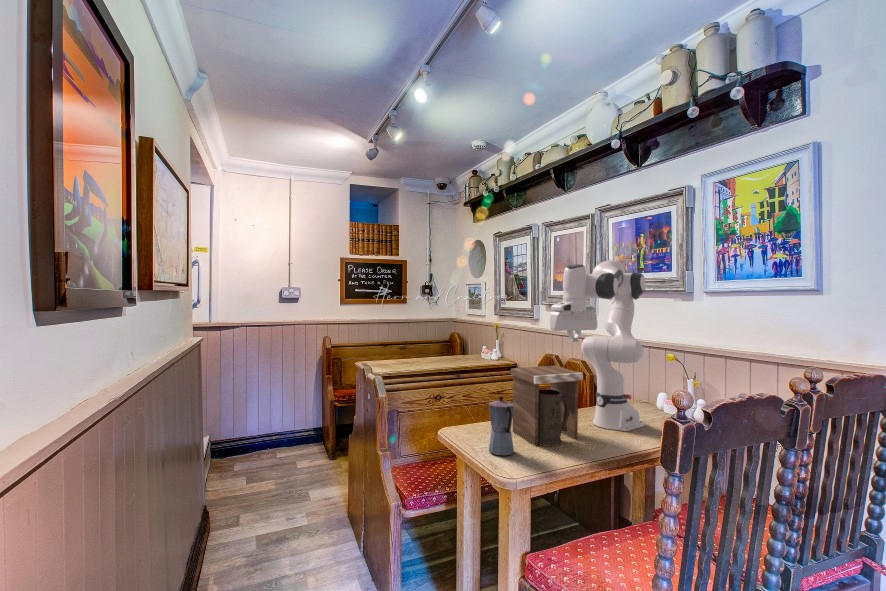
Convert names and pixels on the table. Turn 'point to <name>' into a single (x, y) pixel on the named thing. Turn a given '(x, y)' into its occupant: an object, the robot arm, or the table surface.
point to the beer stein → (551, 416)
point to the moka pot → (501, 427)
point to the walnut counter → (528, 398)
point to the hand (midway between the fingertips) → (573, 342)
